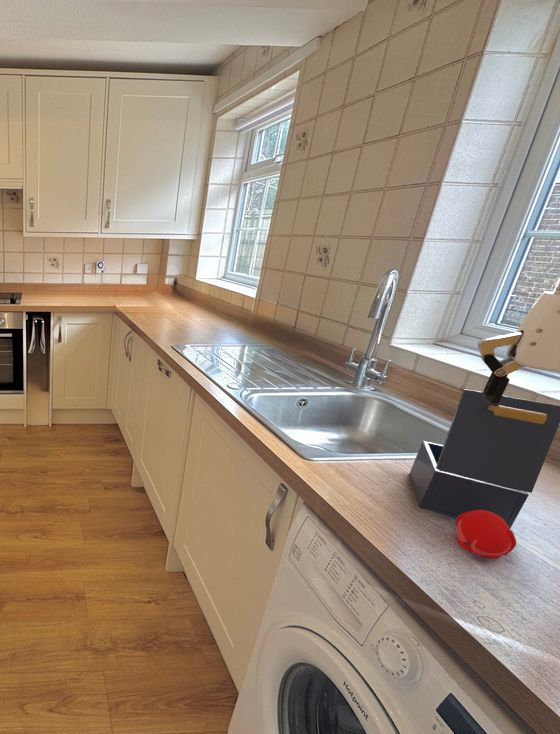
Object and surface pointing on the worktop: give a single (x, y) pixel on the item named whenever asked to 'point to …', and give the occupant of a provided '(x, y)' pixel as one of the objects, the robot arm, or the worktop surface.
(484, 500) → the chest
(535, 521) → the worktop surface
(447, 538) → the worktop surface
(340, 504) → the worktop surface
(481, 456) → the lid
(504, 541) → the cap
